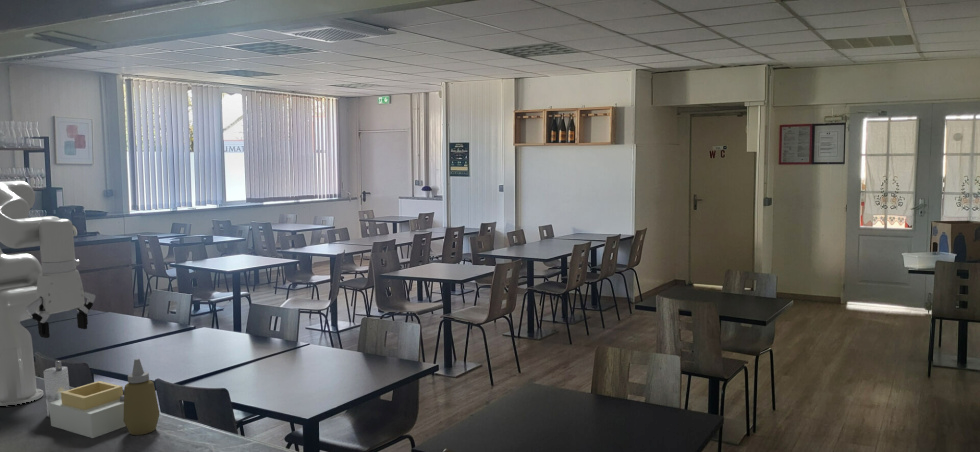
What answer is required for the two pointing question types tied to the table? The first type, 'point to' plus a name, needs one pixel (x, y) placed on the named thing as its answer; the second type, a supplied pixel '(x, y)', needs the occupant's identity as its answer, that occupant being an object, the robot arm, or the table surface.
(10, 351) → the robot arm
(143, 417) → the squeeze bottle
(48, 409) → the spout can
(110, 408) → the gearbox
